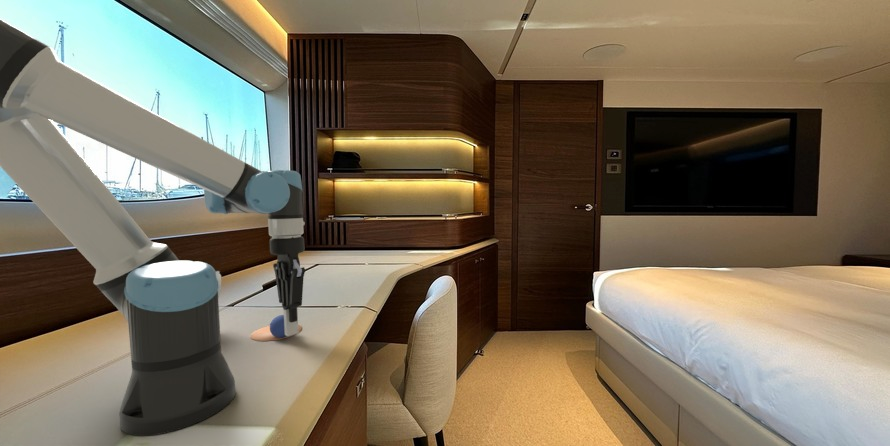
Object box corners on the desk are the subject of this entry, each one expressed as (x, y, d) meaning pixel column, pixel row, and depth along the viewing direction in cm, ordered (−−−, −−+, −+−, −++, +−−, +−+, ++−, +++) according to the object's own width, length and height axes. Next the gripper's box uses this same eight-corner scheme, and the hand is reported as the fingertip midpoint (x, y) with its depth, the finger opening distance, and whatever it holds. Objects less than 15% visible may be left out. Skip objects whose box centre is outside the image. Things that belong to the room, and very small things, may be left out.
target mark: (303, 335, 89) (303, 334, 89) (249, 344, 84) (249, 343, 84) (299, 321, 100) (299, 320, 100) (251, 329, 94) (251, 328, 94)
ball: (289, 311, 87) (280, 309, 90) (270, 327, 83) (261, 324, 87) (301, 328, 89) (292, 324, 92) (283, 344, 85) (274, 340, 89)
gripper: (314, 236, 82) (319, 336, 83) (291, 233, 91) (295, 323, 92) (281, 239, 76) (286, 346, 78) (260, 236, 85) (265, 331, 87)
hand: (291, 333), depth 85 cm, fingers closed
